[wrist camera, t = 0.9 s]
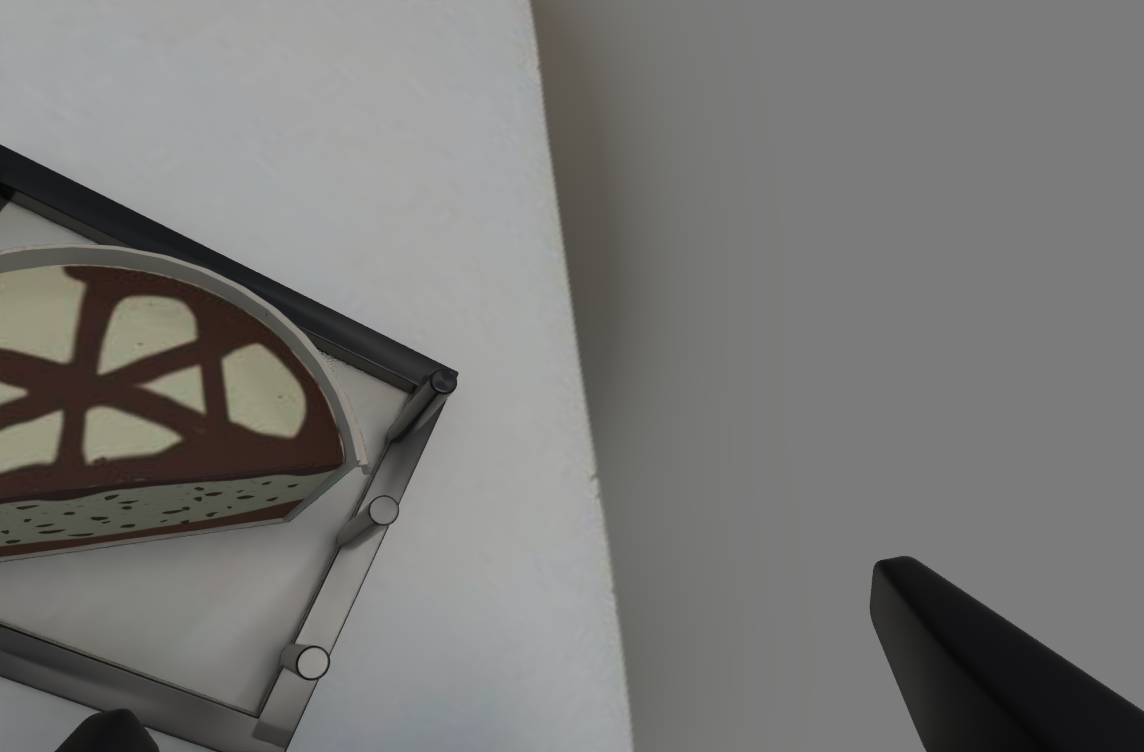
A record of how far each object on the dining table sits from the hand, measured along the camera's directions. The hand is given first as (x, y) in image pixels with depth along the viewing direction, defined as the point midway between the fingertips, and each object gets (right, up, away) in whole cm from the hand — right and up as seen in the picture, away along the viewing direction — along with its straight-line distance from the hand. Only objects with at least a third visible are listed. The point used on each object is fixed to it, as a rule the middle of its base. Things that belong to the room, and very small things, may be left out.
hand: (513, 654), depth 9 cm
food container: (-14, +1, +16) cm, 21 cm away
